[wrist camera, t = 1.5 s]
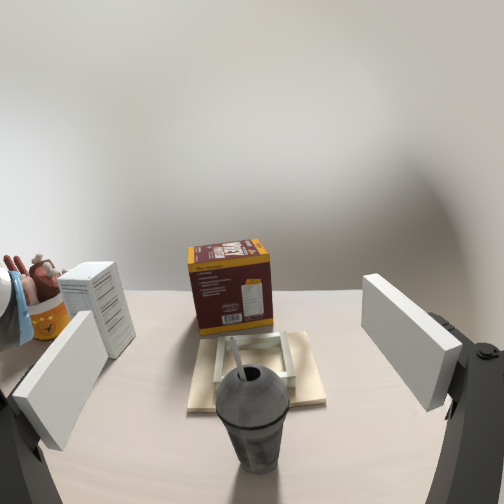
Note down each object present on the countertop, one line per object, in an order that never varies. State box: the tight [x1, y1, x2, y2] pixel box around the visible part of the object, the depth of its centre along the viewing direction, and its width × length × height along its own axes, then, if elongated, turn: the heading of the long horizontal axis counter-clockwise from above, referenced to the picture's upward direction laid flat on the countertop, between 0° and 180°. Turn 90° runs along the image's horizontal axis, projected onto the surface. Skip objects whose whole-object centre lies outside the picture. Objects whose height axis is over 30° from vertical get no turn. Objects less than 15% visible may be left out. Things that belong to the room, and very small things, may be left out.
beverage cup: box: [215, 336, 290, 474], centre depth 27 cm, size 7×7×20 cm
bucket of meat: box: [4, 254, 70, 341], centre depth 58 cm, size 20×16×20 cm
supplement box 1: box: [57, 262, 136, 359], centre depth 54 cm, size 10×9×17 cm
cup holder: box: [187, 331, 326, 412], centre depth 47 cm, size 20×18×4 cm
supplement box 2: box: [187, 239, 273, 335], centre depth 62 cm, size 10×15×16 cm
